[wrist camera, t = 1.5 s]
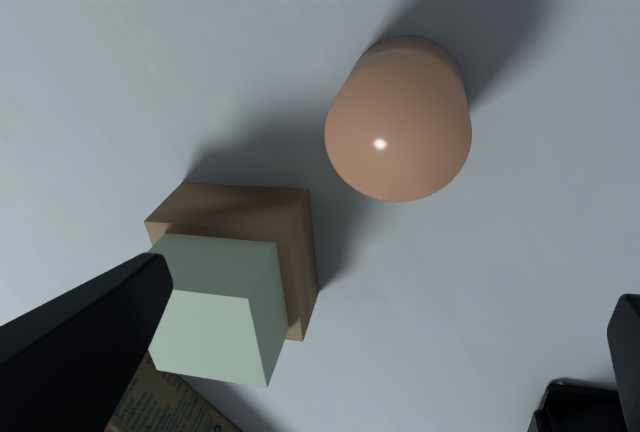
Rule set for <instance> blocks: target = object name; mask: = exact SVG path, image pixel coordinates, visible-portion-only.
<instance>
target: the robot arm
mask: <svg viewBox="0 0 640 432" xmlns="http://www.w3.org/2000/svg"><path fill="white" fill-rule="evenodd" d="M173 285H174V284H173V279H172V276H171V273H170V270H169V268H168V265H167V262H166V259H165V257H164V256H163V255H162V254H160V253H149V252H145V253H142V254H140V255H138V256H136V257H134V258H132V259H130V260H128V261H126V262H124V263H122V264H120V265H118V266H116V267H115V268H113V269H111V270H109V271H107V272H105V273H103V274H101V275H99V276H97V277H95V278H93V279H91V280H89V281H87V282H85V283H84V284H82V285H80V286H78V287H76V288H74V289H72V290H70V291H68V292H66V293H64V294H62V295H60V296H58V297H56V298H54V299H53V300H51V301H49V302H47V303H45V304H43V305H41V306H39V307H37V308H35V309H33V310H31V311H29V312H27V313H25V314H23V315H22V316H20V317H18V318H16V319H14V320H12V321H10V322H8V323H6V324H4V325H2V326H0V432H104V431H105V429H106V427H107V425H108V423H109V422H110V420H111V418H112V416H113V414H114V412H115V410H116V409H117V407H118V405H119V403H120V401H121V399H122V398H123V396H124V394H125V392H126V390H127V388H128V387H129V385H130V383H131V381H132V379H133V377H134V375H135V374H136V372H137V370H138V368H139V366H140V364H141V363H142V361H143V359H144V357H145V355H146V353H147V351H148V349H149V346H150V344H151V342H152V340H153V337H154V335H155V332H156V330H157V328H158V325H159V323H160V321H161V318H162V316H163V313H164V311H165V309H166V306H167V304H168V301H169V299H170V297H171V294H172V291H173ZM607 339H608V344H609V349H610V354H611V358H612V363H613V368H614V373H615V377H616V382H617V387H618V392H613V391H606V390H598V389H591V388H583V387H576V386H568V385H561V384H551V385H549V386H547V388H546V390H545V393H544V396H543V399H542V402H541V405H540V407H539V409H537V410H536V411H535V412H534V413H533V416H532V419H531V422H530V425H529V428H528V431H527V432H640V294H623V295H622V296H621V297H620V298H619V300H618V302H617V305H616V307H615V309H614V312H613V314H612V317H611V319H610V322H609V324H608V328H607Z"/></svg>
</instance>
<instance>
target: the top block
mask: <svg viewBox="0 0 640 432" xmlns="http://www.w3.org/2000/svg"><path fill="white" fill-rule="evenodd" d="M148 252H149V253H160V254H162V255H163V256H164V257H165V259H166V262H167V265H168V268H169V270H170V273H171V276H172V279H173V284H174V285H173V291H172V294H171V297H170V299H169V301H168V304H167V306H166V309H165V311H164V313H163V316H162V318H161V321H160V323H159V325H158V328H157V330H156V332H155V335H154V337H153V340H152V342H151V344H150V346H149V349H148V350H149V352H150V355H151V357H152V359H153V362H154V364H155V366H156V369H157V370H159V371H165V372H171V373H177V374H183V375H189V376H195V377H201V378H207V379H213V380H220V381H226V382H232V383H238V384H244V385H250V386H256V387H262V388H267V387H268V385H269V382H270V379H271V376H272V374H273V371H274V368H275V365H276V363H277V360H278V357H279V354H280V352H281V349H282V346H283V343H284V341H285V338H286V335H287V333H288V330H289V326H288V319H287V312H286V306H285V299H284V292H283V286H282V279H281V272H280V266H279V259H278V252H277V246H276V243H273V242H262V241H251V240H239V239H228V238H216V237H205V236H194V235H182V234H171V233H164V234H163V235H162V236H161V237H160V239H159V240H158V241H157V242H156V243H155V244H154V245H153V246H152V248H151V249H150V250H149V251H148Z"/></svg>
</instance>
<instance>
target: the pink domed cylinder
mask: <svg viewBox="0 0 640 432" xmlns="http://www.w3.org/2000/svg"><path fill="white" fill-rule="evenodd" d="M471 138H472V129H471V121H470V115H469V109H468V103H467V98H466V92H465V86H464V80H463V76H462V73H461V70H460V68H459V66H458V64H457V62H456V61H455V59H454V58H453V56H452V55H451V54H450V53H449V52H448V51H447V50H446V49H445V48H444V47H442V46H441V45H439V44H438V43H436V42H434V41H432V40H430V39H427V38H424V37H420V36H414V35H403V36H395V37H391V38H388V39H385V40H383V41H381V42H379V43H377V44H375V45H374V46H372V47H371V48H370V49H368V50H367V51H366V52H365V53H364V54H363V55H362V56H361V57H360V59H359V60H358V61H357V63H356V64H355V66H354V68H353V69H352V71H351V73H350V74H349V76H348V78H347V79H346V81H345V83H344V85H343V86H342V88H341V90H340V91H339V93H338V95H337V97H336V98H335V100H334V102H333V103H332V105H331V107H330V110H329V112H328V115H327V119H326V123H325V145H326V150H327V153H328V156H329V159H330V161H331V163H332V165H333V167H334V168H335V170H336V171H337V173H338V174H339V175H340V176H341V178H342V179H343V180H344V181H345V182H346V183H348V184H349V185H350V186H351V187H353V188H354V189H356V190H357V191H359V192H360V193H362V194H365V195H367V196H369V197H372V198H375V199H378V200H383V201H390V202H406V201H413V200H417V199H421V198H424V197H427V196H429V195H431V194H433V193H435V192H437V191H439V190H440V189H442V188H443V187H445V186H446V185H447V184H448V183H449V182H451V181H452V180H453V178H454V177H455V176H456V175H457V174H458V173H459V171H460V170H461V168H462V167H463V165H464V163H465V161H466V159H467V156H468V153H469V151H470V146H471Z"/></svg>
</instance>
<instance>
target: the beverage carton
mask: <svg viewBox="0 0 640 432" xmlns="http://www.w3.org/2000/svg"><path fill="white" fill-rule="evenodd" d="M104 432H241V431H240V430H238V429H237V428H236V427H235V426H234V425H233V424H232V423H230V422H229V421H228V420H227V419H226V418H225V417H224V416H223V415H222V414H220V413H219V412H218V411H217V410H216V409H215V408H214V407H213V406H212V405H210V404H209V403H208V402H207V401H206V400H205V399H204V398H203V397H202V396H200V395H199V394H198V393H197V392H196V391H195V390H194V389H193V388H191V387H190V386H189V385H188V384H187V383H186V382H185V381H183V380H182V379H181V378H180V377H179V376H178V375H177V374H176V373H171V372H165V371H159V370H157V369H156V366H155V364H154V362H153V359H152V357H151V355H150V352H149V350H148V351H147V353H146V355H145V357H144V359H143V361H142V363H141V364H140V366H139V368H138V370H137V372H136V374H135V375H134V377H133V379H132V381H131V383H130V385H129V387H128V388H127V390H126V392H125V394H124V396H123V398H122V399H121V401H120V403H119V405H118V407H117V409H116V410H115V412H114V414H113V416H112V418H111V420H110V422H109V423H108V425H107V427H106V429H105V431H104Z"/></svg>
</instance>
